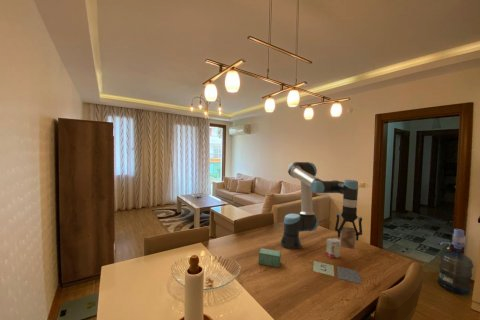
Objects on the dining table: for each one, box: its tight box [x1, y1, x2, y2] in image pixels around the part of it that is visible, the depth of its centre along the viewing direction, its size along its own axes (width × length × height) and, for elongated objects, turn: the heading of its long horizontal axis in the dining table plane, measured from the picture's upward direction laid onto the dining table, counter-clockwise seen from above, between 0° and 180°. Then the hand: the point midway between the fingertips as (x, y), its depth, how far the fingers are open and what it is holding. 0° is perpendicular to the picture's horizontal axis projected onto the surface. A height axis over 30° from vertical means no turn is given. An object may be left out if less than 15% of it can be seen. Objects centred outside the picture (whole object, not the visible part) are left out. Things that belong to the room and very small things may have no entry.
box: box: [258, 247, 282, 268], centre depth 136 cm, size 7×14×8 cm, turn 76°
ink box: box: [325, 237, 342, 259], centre depth 149 cm, size 9×5×12 cm, turn 108°
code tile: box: [312, 260, 335, 277], centre depth 133 cm, size 12×13×1 cm
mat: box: [336, 266, 362, 285], centre depth 127 cm, size 12×14×1 cm
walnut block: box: [341, 226, 356, 250], centre depth 126 cm, size 7×7×10 cm
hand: (347, 244), depth 126 cm, fingers closed on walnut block, 7 cm apart
